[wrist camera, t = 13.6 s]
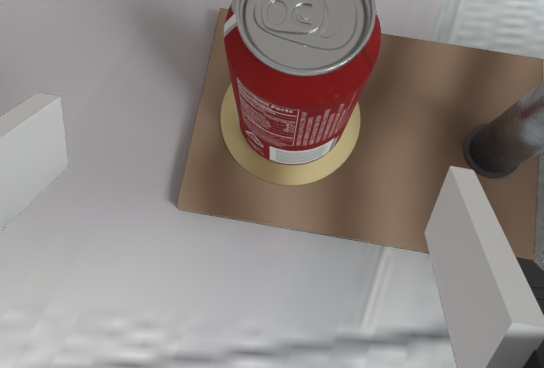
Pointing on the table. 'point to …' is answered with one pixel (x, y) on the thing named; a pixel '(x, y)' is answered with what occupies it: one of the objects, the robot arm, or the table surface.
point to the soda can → (298, 72)
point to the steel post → (511, 135)
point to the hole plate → (372, 150)
